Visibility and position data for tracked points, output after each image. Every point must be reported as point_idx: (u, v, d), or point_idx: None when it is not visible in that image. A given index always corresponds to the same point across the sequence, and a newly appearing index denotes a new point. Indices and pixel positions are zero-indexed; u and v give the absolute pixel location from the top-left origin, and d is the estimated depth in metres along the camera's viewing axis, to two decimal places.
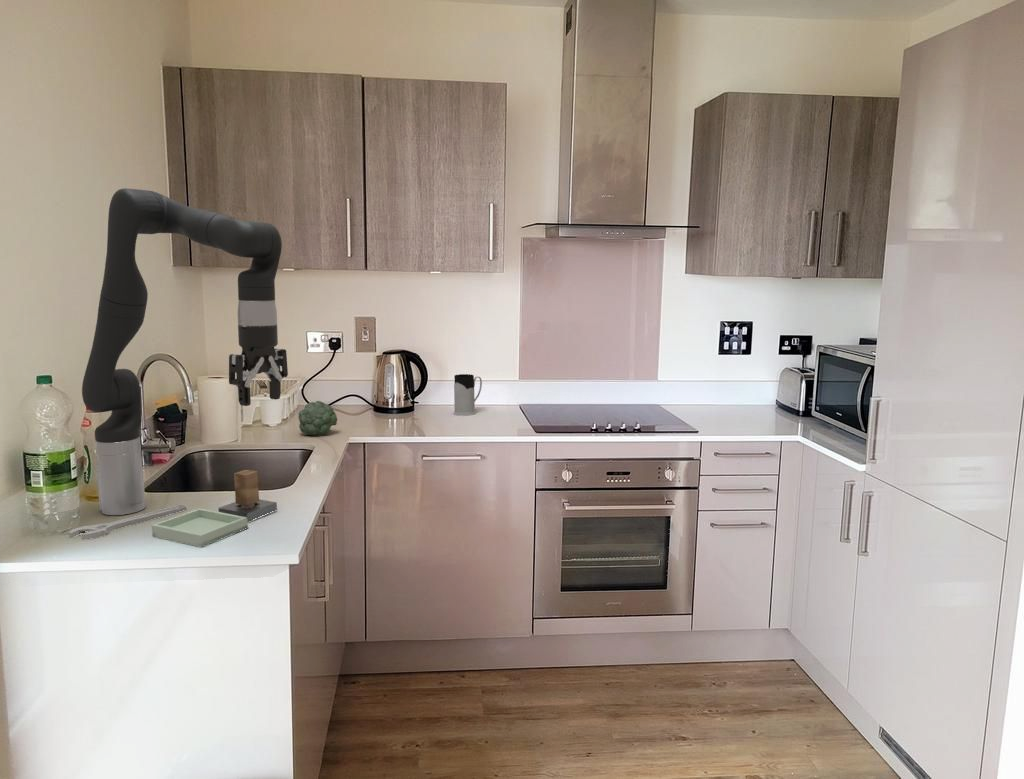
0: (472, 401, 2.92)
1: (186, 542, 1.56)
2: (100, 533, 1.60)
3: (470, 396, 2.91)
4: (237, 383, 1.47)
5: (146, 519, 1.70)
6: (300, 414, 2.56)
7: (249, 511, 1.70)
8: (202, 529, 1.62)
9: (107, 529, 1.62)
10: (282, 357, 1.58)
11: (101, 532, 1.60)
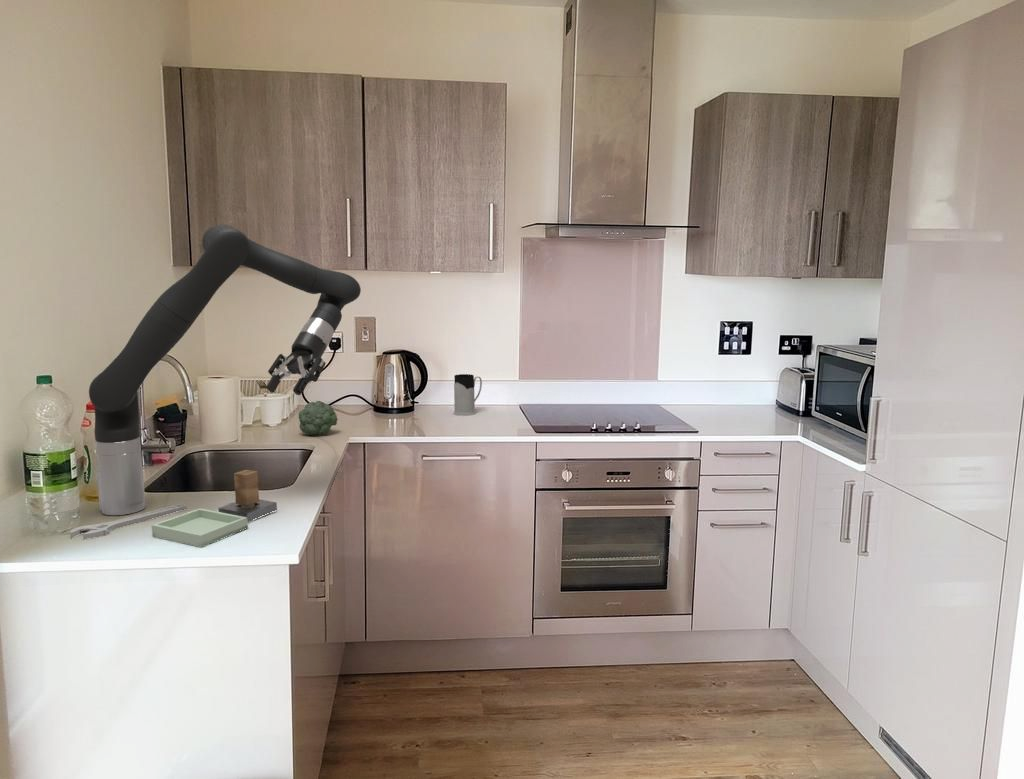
0: (472, 401, 2.92)
1: (186, 542, 1.56)
2: (101, 533, 1.61)
3: (470, 396, 2.91)
4: (316, 380, 1.81)
5: (146, 518, 1.70)
6: (300, 414, 2.56)
7: (249, 511, 1.70)
8: (202, 529, 1.62)
9: (108, 528, 1.63)
10: None
11: (102, 532, 1.61)
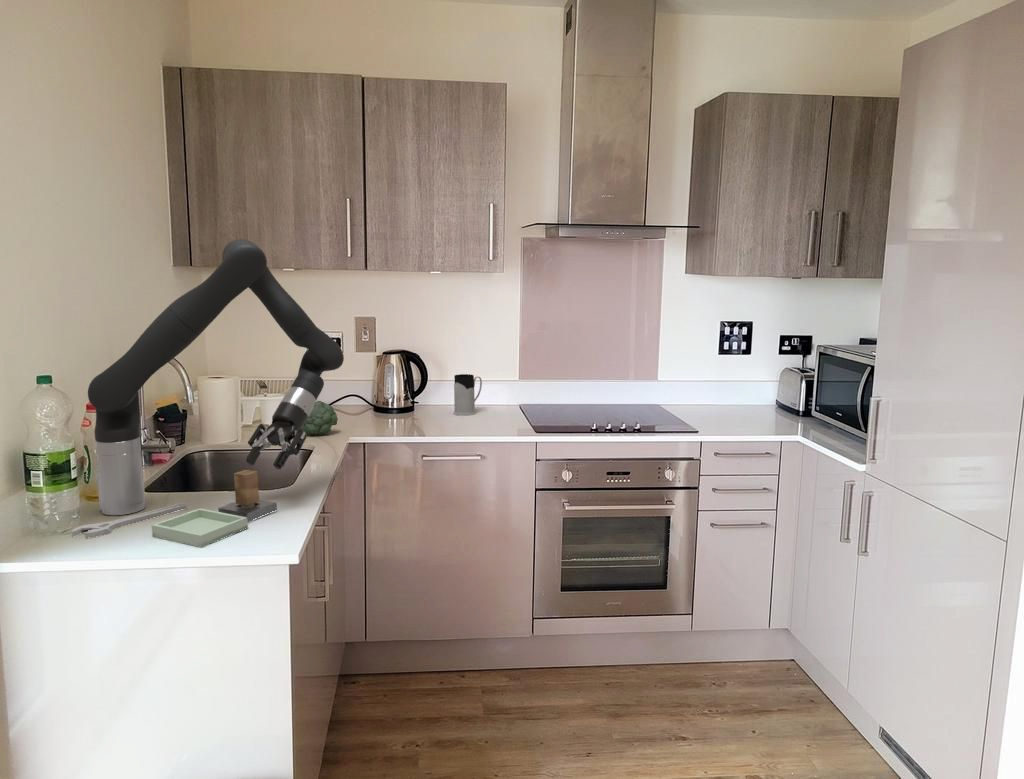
0: (472, 401, 2.92)
1: (186, 542, 1.56)
2: (103, 532, 1.61)
3: (470, 396, 2.91)
4: (297, 453, 1.78)
5: (147, 517, 1.71)
6: None
7: (249, 511, 1.70)
8: (202, 529, 1.62)
9: (109, 528, 1.63)
10: None
11: (104, 531, 1.61)
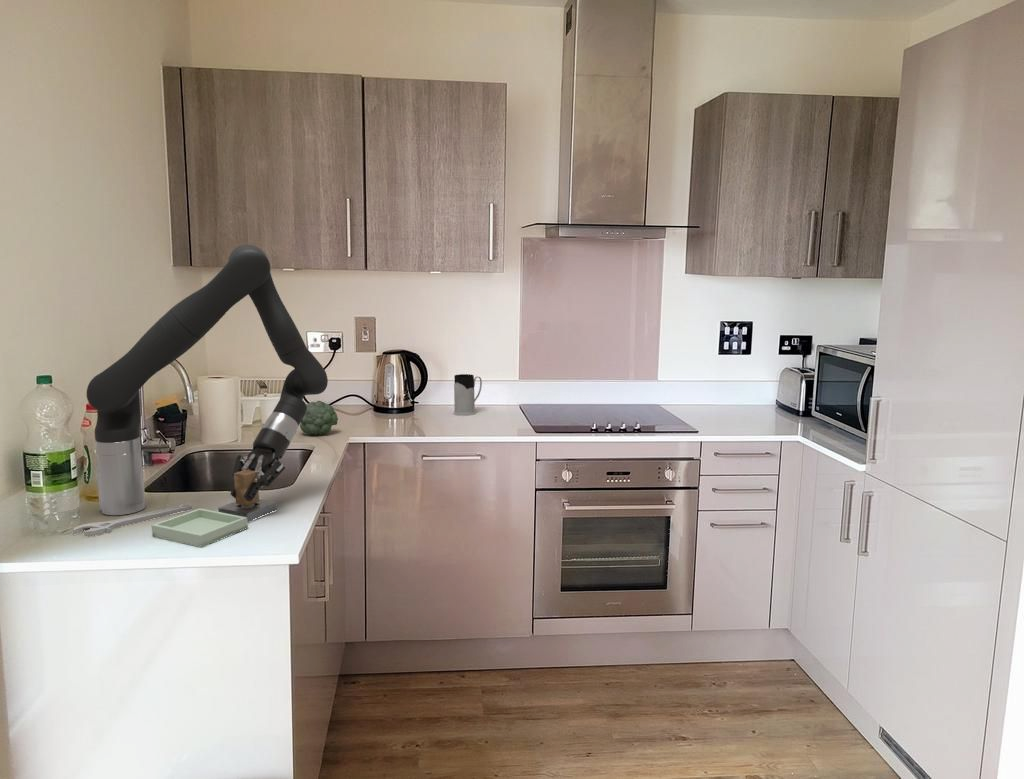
0: (472, 401, 2.92)
1: (186, 542, 1.56)
2: (102, 531, 1.62)
3: (470, 396, 2.91)
4: (268, 484, 1.73)
5: (150, 518, 1.71)
6: None
7: (249, 511, 1.70)
8: (202, 529, 1.62)
9: (110, 527, 1.64)
10: None
11: (103, 530, 1.62)
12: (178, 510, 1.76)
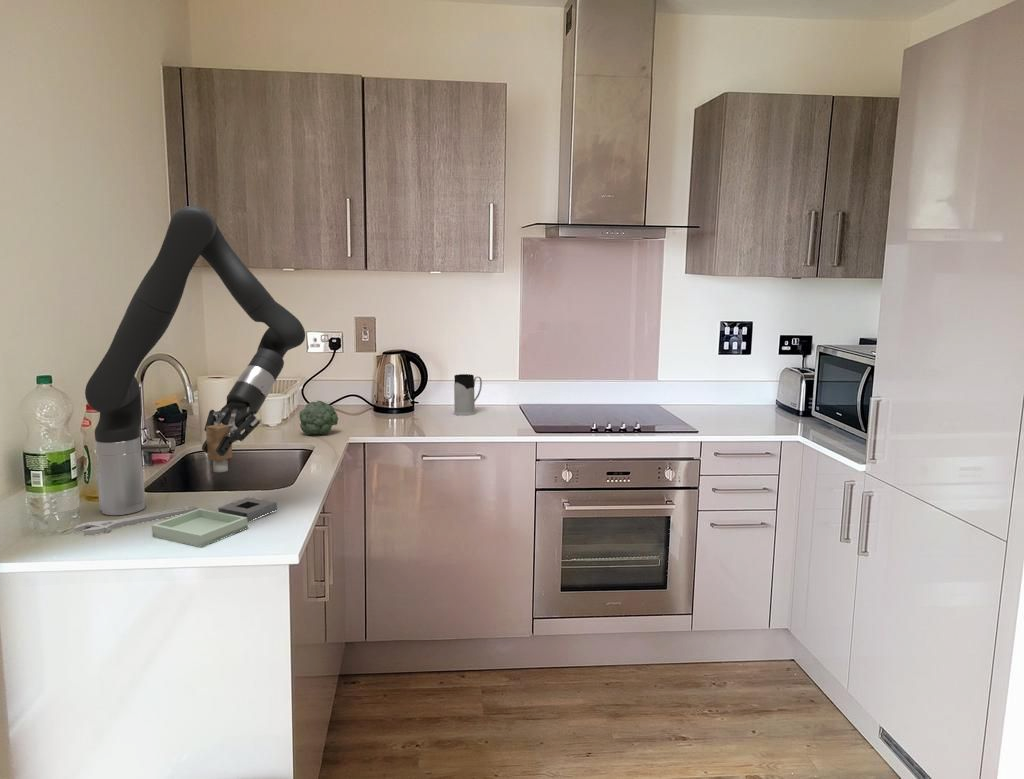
0: (472, 401, 2.92)
1: (186, 542, 1.56)
2: (102, 530, 1.62)
3: (470, 396, 2.91)
4: (242, 439, 1.65)
5: (153, 518, 1.70)
6: (301, 414, 2.57)
7: (249, 511, 1.70)
8: (202, 529, 1.62)
9: (110, 526, 1.64)
10: None
11: (103, 529, 1.62)
12: (182, 512, 1.74)
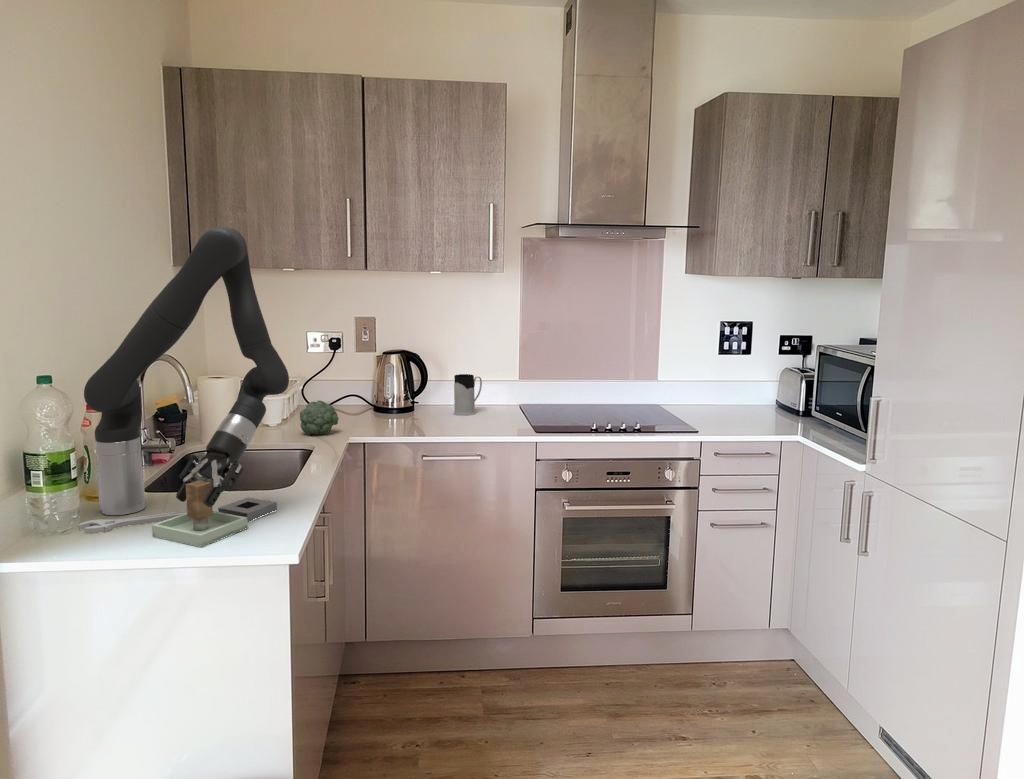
0: (472, 401, 2.92)
1: (186, 542, 1.56)
2: (101, 529, 1.63)
3: (470, 396, 2.91)
4: (230, 489, 1.60)
5: (156, 520, 1.69)
6: (301, 414, 2.57)
7: (249, 511, 1.70)
8: None
9: (111, 526, 1.64)
10: None
11: (102, 528, 1.63)
12: None
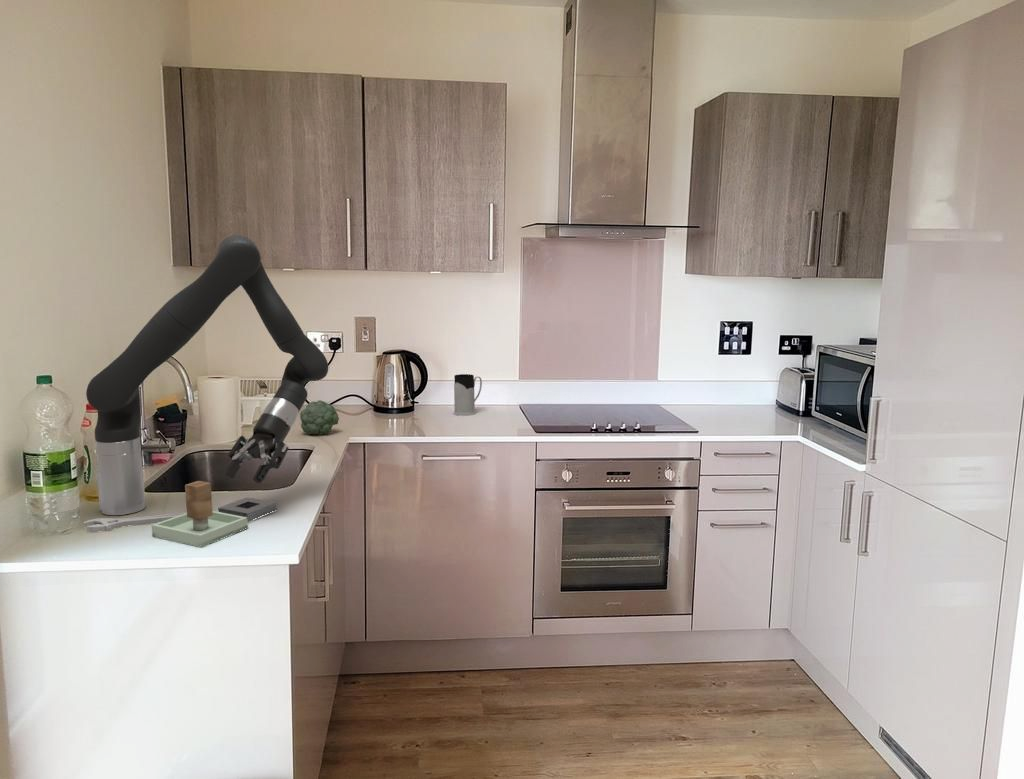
0: (472, 401, 2.92)
1: (186, 542, 1.56)
2: (102, 528, 1.63)
3: (470, 396, 2.91)
4: (278, 466, 1.72)
5: (158, 521, 1.69)
6: (302, 413, 2.57)
7: (249, 511, 1.70)
8: None
9: (113, 525, 1.65)
10: None
11: (104, 527, 1.63)
12: None
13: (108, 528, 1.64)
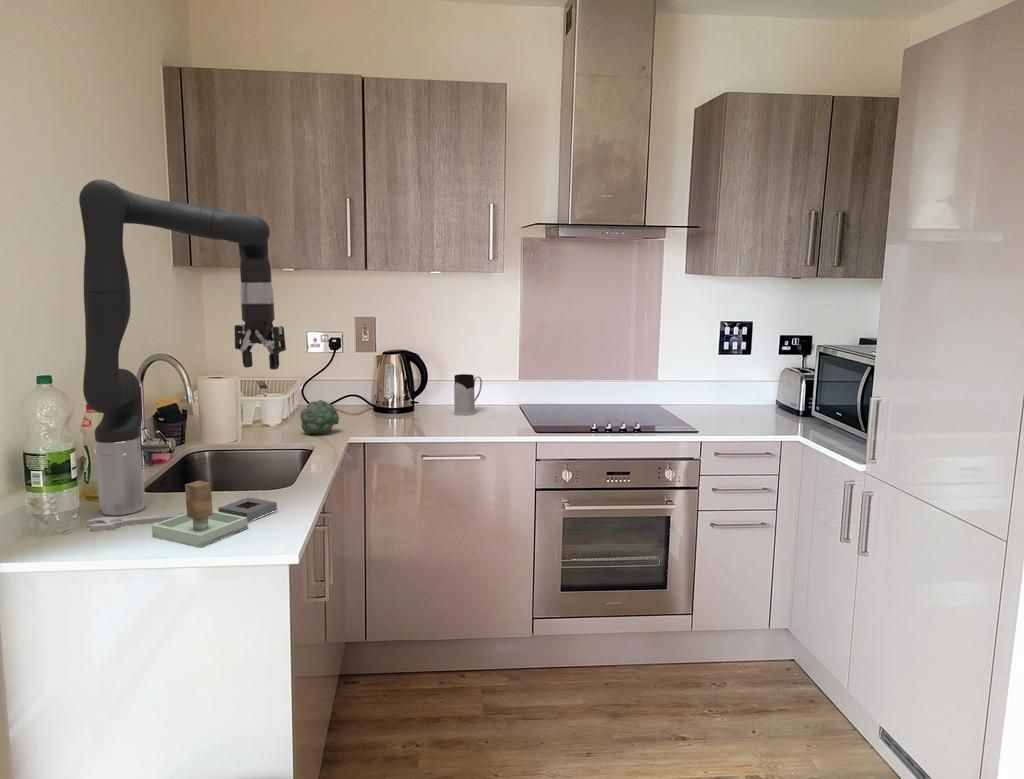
0: (472, 401, 2.92)
1: (186, 542, 1.56)
2: (105, 527, 1.64)
3: (470, 396, 2.91)
4: (284, 349, 1.81)
5: (161, 520, 1.69)
6: (302, 413, 2.57)
7: (249, 511, 1.70)
8: None
9: (116, 524, 1.65)
10: None
11: (107, 526, 1.64)
12: None
13: (111, 527, 1.64)
